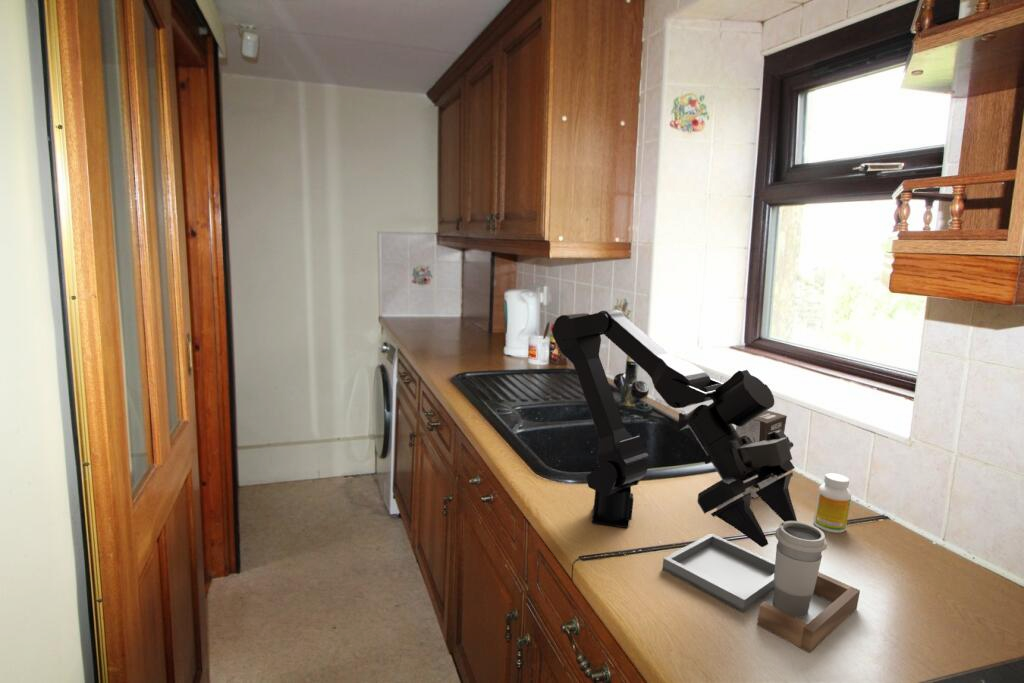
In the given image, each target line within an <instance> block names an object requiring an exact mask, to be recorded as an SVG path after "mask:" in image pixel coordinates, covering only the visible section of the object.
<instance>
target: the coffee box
mask: <svg viewBox="0 0 1024 683" xmlns="http://www.w3.org/2000/svg"><path fill="white" fill-rule="evenodd" d="M786 423H787V415H785V414H782V413H779V412H774V411H770V410H767V411H765V412H764V413H762V414H761V415H759V416H758V417H756V418H755V419H753V420H752V421H750V422H749V423H747V424H746V425H744V426H736V425H735V429H736V431H737V432H738V434H739V436H740V437H742V436H745V435H746V436H748V437H749V438H750V439H751V441H752V442H753V443H756V442H761V441H763V440H765V441H766V439H767V434H768V433H771V432H774V431H780V430H782V432H783V433H784V434H785V431H786V430H785V429H786ZM760 489H761V488H760V487H759V488H755V487H753V486H751V487H749V488H747V489H745V492H744V493H743V495H746V494H748V493H751V498H752V497H753V499H757V498H758V497H759V496H758V495H757V494H756V493H755V492H757V491H758V490H760ZM759 498H760V497H759Z"/></svg>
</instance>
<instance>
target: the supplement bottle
mask: <svg viewBox="0 0 1024 683" xmlns="http://www.w3.org/2000/svg"><path fill="white" fill-rule="evenodd" d="M849 485H850V479H849V477H847V476H845V475H842V474H839V473H834V472H833V473H831V472H828V473H826V474H825V475H824V479H823V483H822V484H820V486H819V487H818V491H817V496H816V502H815V503H816V504H815V510H814V517H813V523H814V524H813V525H814V526H815V527H817V528H819V529H820V530H821V531H825V532H829V533H835V534H841V533H843V532H846V529H847V524H848V518H849V512H850V505H851V500H852V492H851V491H850V490H849Z"/></svg>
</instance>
